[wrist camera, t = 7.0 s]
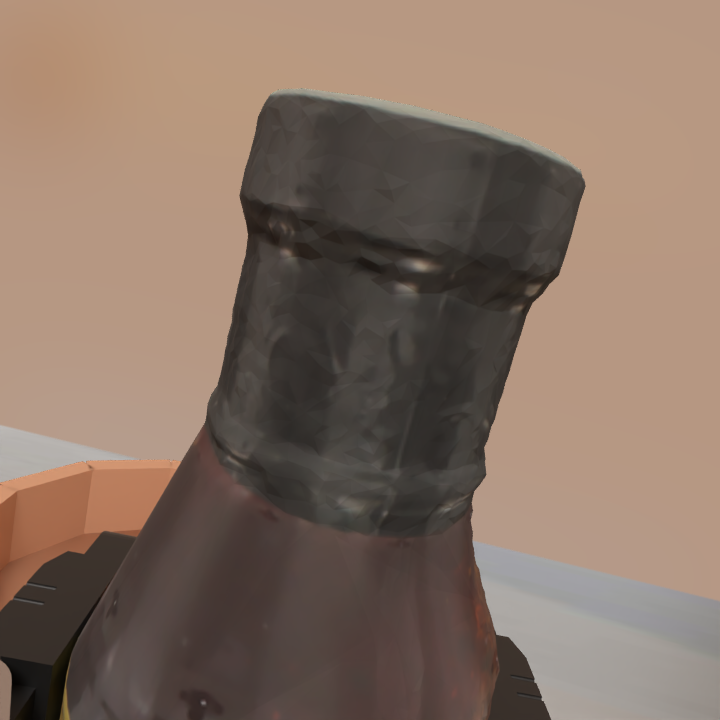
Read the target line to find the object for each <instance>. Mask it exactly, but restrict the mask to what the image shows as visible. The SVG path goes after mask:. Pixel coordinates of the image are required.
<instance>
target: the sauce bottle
mask: <svg viewBox="0 0 720 720" xmlns="http://www.w3.org/2000/svg"><path fill="white" fill-rule="evenodd" d="M584 189H585V181H584V179H583V178H582V174H581V171H580V170H579V169H578V168H577V167H575V166H574V165H573V164H572V163H571V162H569V161H568V160H567V159H566V158H564V157H562V156H560V155H558V154H557V153H555V152H552V151H551V150H549V149H547V148H545V147H543V146H540V145H538V144H535V143H533V142H531V141H529V140H526V139H524V138H521V137H518V136H516V135H513V134H510V133H508V132H505V131H502V130H499V129H497V128H494V127H491V126H488V125H485V124H483V123H479V122H475V121H471V120H467V119H463V118H459V117H455V116H451V115H448V114H444V113H440V112H436V111H432V110H428V109H424V108H420V107H416V106H411V105H406V104H401V103H395V102H391V101H385V100H380V99H375V98H370V97H365V96H357V95H349V94H341V93H333V92H325V91H318V90H311V89H302V88H301V89H283V90H277V91H275V92H273V93H272V94H271V95H270V96H269V98H268V99H267V100H266V102H265V104H264V106H263V108H262V110H261V112H260V114H259V116H258V121H257V126H256V132H255V136H254V140H253V144H252V148H251V152H250V155H249V159H248V162H247V165H246V168H245V172H244V177H243V182H242V186H241V191H240V200H241V204H242V208H243V212H244V216H245V220H246V224H247V231H248V241H247V249H246V257H245V260H244V264H243V266H242V272H241V276H240V280H239V284H238V289H237V294H236V298H235V304H234V307H233V314H232V324H231V327H230V331H229V334H228V338H227V346H226V349H225V357H224V361H223V366H222V371H221V375H220V378H219V382H218V386H217V387H216V388H215V390H214V392H213V393H212V394H211V397H210V400H209V402H208V407H207V416H206V421H205V424H204V425H203V427H202V429H201V430H200V432H199V434H198V435H197V437H196V438H195V440H194V442H193V444H192V445H191V447H190V448H189V450H188V452H187V453H186V455H185V457H184V458H183V460H182V461H181V463H180V465H179V466H178V468H177V470H176V471H175V473H174V475H173V477H172V478H171V480H170V482H169V483H168V485H167V487H166V489H165V490H164V492H163V494H162V495H161V497H160V499H159V500H158V502H157V504H156V506H155V507H154V509H153V511H152V512H151V514H150V516H149V518H148V519H147V521H146V523H145V524H144V526H143V528H142V530H141V531H140V533H139V535H138V536H137V538H136V540H135V541H134V543H133V545H132V547H131V548H130V550H129V552H128V553H127V555H126V557H125V559H124V560H123V562H122V564H121V565H120V567H119V569H118V570H117V572H116V574H115V576H114V577H113V579H112V581H111V582H110V584H109V586H108V588H107V589H106V591H105V593H104V594H103V596H102V598H101V600H100V601H99V603H98V605H97V606H96V608H95V610H94V612H93V613H92V615H91V617H90V618H89V620H88V622H87V624H86V625H85V627H84V629H83V630H82V632H81V634H80V636H79V637H78V640H77V642H76V644H75V646H74V649H73V651H72V653H71V657H70V662H69V666H68V671H67V676H66V682H65V689H64V695H63V702H62V708H61V715H60V719H59V720H488V718H489V716H490V710H491V702H492V696H493V693H494V689H495V683H496V680H497V677H498V674H499V671H500V669H499V661H498V656H497V645H496V636H495V632H494V627H493V622H492V618H491V615H490V612H489V609H488V606H487V603H486V599H485V592H484V589H483V587H482V582H481V578H480V572H479V568H478V567H477V565H476V561H475V557H474V548H473V543H472V537H473V535H472V534H473V531H472V526H471V516H472V511H473V509H472V503H471V502H472V498H473V494H474V491H475V490H476V488H477V487H478V486H479V485H480V484H481V482H482V481H483V479H484V478H485V476H486V468H485V452H484V446H485V444H486V442H487V440H488V437H489V433H490V429H491V426H492V424H493V422H494V420H495V416H496V412H497V408H498V404H499V401H500V399H501V396H502V393H503V390H504V386H505V382H506V379H507V377H508V374H509V371H510V367H511V364H512V360H513V357H514V353H515V350H516V347H517V344H518V341H519V338H520V335H521V332H522V329H523V325H524V322H525V319H526V315H527V313H528V311H529V309H530V307H531V305H532V303H533V302H534V301H535V300H536V299H537V298H538V297H539V296H540V295H542V294H543V292H544V291H545V289H546V288H547V287H548V285H549V284H550V283H551V282H552V281H553V280H554V279H555V278H556V277H557V276H558V275H559V273H560V269H561V267H562V264H563V261H564V258H565V255H566V251H567V248H568V244H569V241H570V238H571V235H572V231H573V227H574V223H575V219H576V216H577V212H578V208H579V204H580V201H581V198H582V195H583V192H584Z"/></svg>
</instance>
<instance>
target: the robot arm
mask: <svg viewBox="0 0 720 720" xmlns="http://www.w3.org/2000/svg"><path fill="white" fill-rule="evenodd" d="M136 538H137V537H135V536H130V535H125V534H120V533H115V532H110V531H103V532H102V533H101V534H100V535H99V536H98V538H97V539H96V540H95V541H94V543H93V544H92V545H91V546H90V547H89V549H88V550H87V551H86V552H85V554H81V553H76V552H71V551H67V552H65V553H63V554H61V555H59V556H57V557H55V558H54V559H52V560H50V561H48V562H46V563H44V564H43V565H42V566H41V567H40V568H39V569H38V570H37V571H36V572H35V574H34V575H33V576H32V577H31V578H30V579H29V580H28V581H27V584H26V585H24V586H23V587H22V588H21V589H20V590H19V591H18V592H17V593H16V594H15V595H14V598H13V600H10V601H9V602H8V603H7V604H6V605H5V606H4V607H3V609H2V610H1V611H0V720H59V719H60V715H61V708H62V702H63V695H64V689H65V682H66V676H67V671H68V666H69V662H70V657H71V653H72V651H73V649H74V646H75V644H76V642H77V640H78V637H79V636H80V634H81V632H82V630H83V629H84V627H85V625H86V624H87V622H88V620H89V618H90V617H91V615H92V613H93V612H94V610H95V608H96V606H97V605H98V603H99V601H100V600H101V598H102V596H103V594H104V593H105V591H106V589H107V588H108V586H109V584H110V582H111V581H112V579H113V577H114V576H115V574H116V572H117V570H118V569H119V567H120V565H121V564H122V562H123V560H124V559H125V557H126V555H127V553H128V552H129V550H130V548H131V547H132V545H133V543H134V541H135V540H136ZM494 632H495V630H494ZM495 636H496V645H497V656H498V661H499V669H500V671H499V674H498V677H497V680H496V683H495V689H494V693H493V696H492V702H491V710H490V716H489V718H488V720H551V718H550V716H549V713H548V711H547V708H546V706H545V703H544V701H542V700H541V698H542V696H541V694H540V691H539V689H538V686H537V684H536V683H534V676H533V674H532V671H531V669H530V666H529V664H528V661H527V659H526V657H525V656H524V655H523V654H522V652H521V651H520V650H519V649H518V648H517V647H516V645H515V644H514V643H513V642H512V641H511V640H510V638H509V637H505V636H499V635H496V632H495Z"/></svg>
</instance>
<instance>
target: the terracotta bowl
mask: <svg viewBox="0 0 720 720" xmlns="http://www.w3.org/2000/svg"><path fill="white" fill-rule="evenodd" d="M180 463H181V462H180V461H175V460H173V461H172V462H170V460H108V461H86V463H85V462H83V461H82V462H78V463H74V464H70V465H66V466H63V467H59V468H55V469H51V470H47V471H43V472H40V473H36V474H32V475H28V476H24V477H20V478H17V479H13V480H9V481H5V482H1V483H0V611H1V610H2V609H3V607H4V606H5V605H6V604H7V603H8V602H9V601H10V600H13V598H14V595H15V594H16V593H17V592H18V591H19V590H20V589H21V588H22V587H23V586H24V585H26V584H27V581H28V580H29V579H30V578H31V577H32V576H33V575H34V574H35V572H36V571H37V570H38V569H39V568H40V567H41V566H42V565H43V564H44V563H46V562H48V561H50V560H52V559H54V558H55V557H57V556H59V555H61V554H63V553H65V552H67V551H71V552H76V553H81V554H85V552H86V551H87V550H88V549H89V547H90V546H91V545H92V544H93V543H94V541H95V540H96V539H97V538H98V536H99V535H100V534H101V533H102V532H103V531H110V532H115V533H120V534H125V535H130V536H135V537H137V536H138V535H139V533H140V531H141V530H142V528H143V526H144V524H145V523H146V521H147V519H148V518H149V516H150V514H151V512H152V511H153V509H154V507H155V506H156V504H157V502H158V500H159V499H160V497H161V495H162V494H163V492H164V490H165V489H166V487H167V485H168V483H169V482H170V480H171V478H172V477H173V475H174V473H175V471H176V470H177V468H178V466H179V465H180Z"/></svg>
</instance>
